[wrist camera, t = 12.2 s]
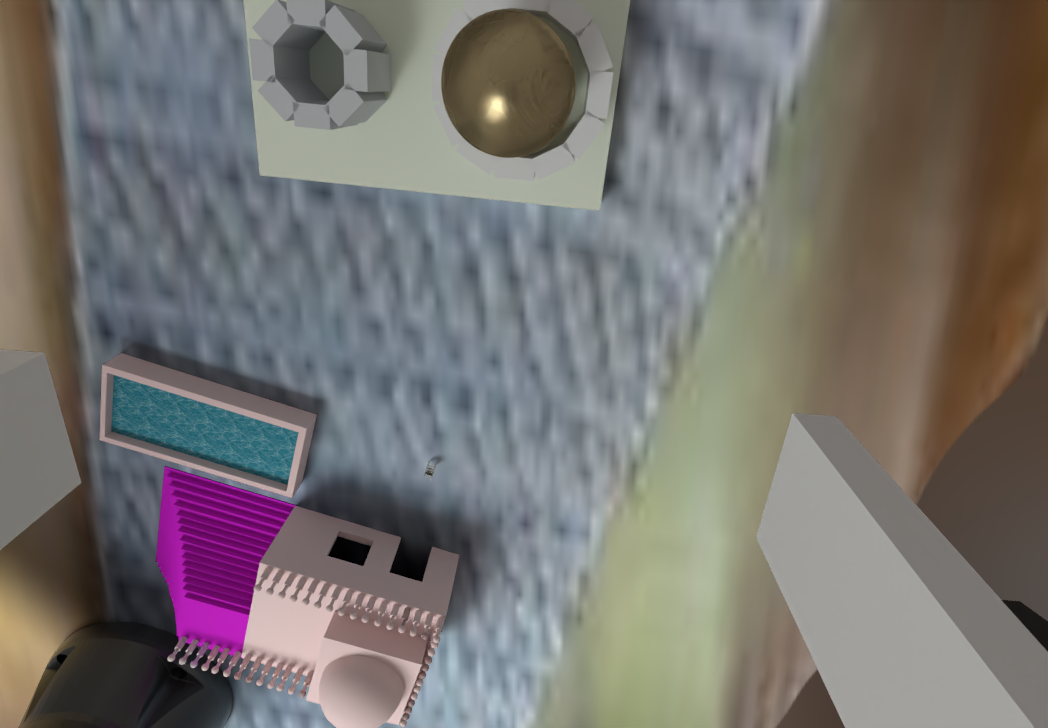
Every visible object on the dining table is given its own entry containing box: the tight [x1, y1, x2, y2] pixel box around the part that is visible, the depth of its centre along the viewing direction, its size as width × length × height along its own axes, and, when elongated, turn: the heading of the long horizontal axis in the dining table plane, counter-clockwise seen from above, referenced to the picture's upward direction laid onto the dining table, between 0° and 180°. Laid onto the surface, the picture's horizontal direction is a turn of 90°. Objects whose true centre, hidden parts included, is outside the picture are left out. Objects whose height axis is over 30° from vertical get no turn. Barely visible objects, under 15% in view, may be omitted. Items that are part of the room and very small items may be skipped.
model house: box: [100, 353, 459, 728], centre depth 38 cm, size 25×17×11 cm
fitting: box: [441, 9, 576, 158], centre depth 24 cm, size 4×4×10 cm
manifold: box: [243, 0, 630, 211], centre depth 28 cm, size 18×11×6 cm, turn 85°
